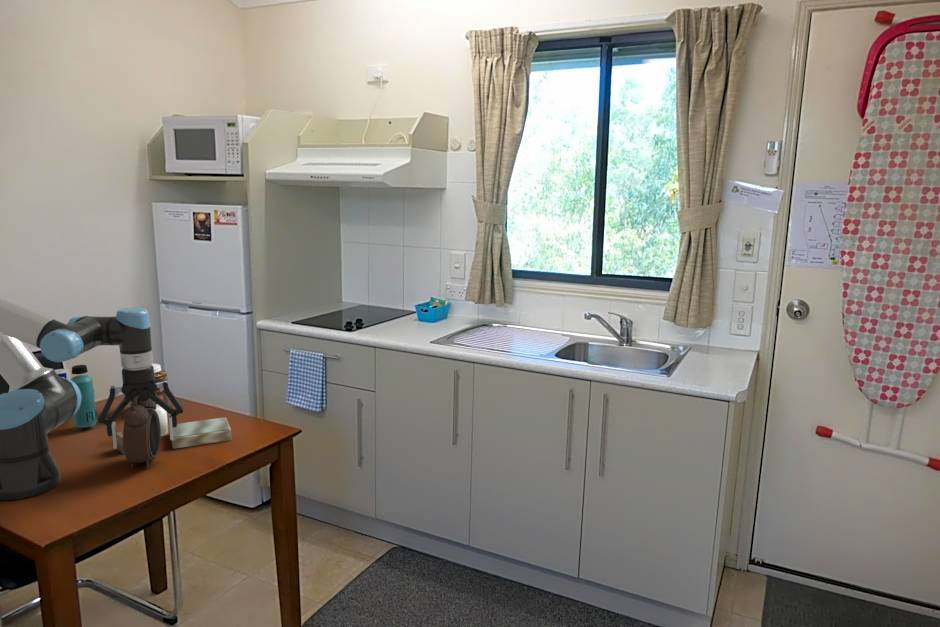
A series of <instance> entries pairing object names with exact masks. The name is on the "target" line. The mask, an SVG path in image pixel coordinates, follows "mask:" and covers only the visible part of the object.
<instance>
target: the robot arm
mask: <svg viewBox="0 0 940 627" xmlns="http://www.w3.org/2000/svg"><path fill="white" fill-rule="evenodd" d="M151 325H152V324H151V321H150V315H149V311H148V310H147V309H146V308H143V307H126V308H121V309H119V310H117V311H116V315H115V316H95V315H94V316H89V315H83V316H73V317H71V318H70V319H69V321H68V322H67V323H64V322H61V321H59V320H56V319H54V318H51V317H50V316H46V315H44V314H41V313H40V312H37V311H34V310H32V309H29V308H27V307H25V306H22V305H20V304H18V303H14V302H12V301H9V300H7V299H6V298H5V299H4V298H2V297H0V375H1V377H2V378H3V379H4V380H5V382H6V383H7V384H8V385H9V390H8V392H4V393H1V394H0V501H12V500H13V501H14V500H22V499H26V498H30V497H34V496H38V495H41V494H42V493H46V492H48V491H50V490H52V489H54V488H55V487H56V486H58V485H59V484H60V483H61V480H62V478H61V471H60V468H59V467H58V464H57V463H56V461H55V459H54V457H53V456H52V454H51V452H50V445H49V437H48V433H50V432H51V431H53V430H55V429H56V428H58V427H59V426H61V425H62V424H64V423H66V422H68V421H69V420H71V419H72V416H73V415H74V414H75V413H76V412H77V411H78V410H79V408H80V405H81V392H80V390H79V388H78V386H77V385H76V384H75V383H74V382H73V381H72V380H70V379H71V378H70V379H66V378H64V377H59V376H58V375H57V373H56V372H55V371H54V370H55V369H53V368H49V367H45V366H43V365H42V363H41V362H40V360H38V358H37V356H36V355H34V353H33V352H32V350H31V349H30V348H29V347H28V345H30V346H32V347H36V348H38V349H39V350H40V352H41V354H42V355H43V356H44V357H45V358H46V359H47V360H49V361H51V362H54V363H63V362H66V361H69V360H73V359H75V358H78V357H79V356H81V355H82V354H84V353H86V352H88V351H90V350H92V349H94V348H96V347H98V346H118V348H119V355H120V357H119V358H120V366H121V367H122V369H121V378H122V386H119V387H118V386H114V385H112V386H110V387H109V395H108V397H107V400H106V402H105V404H104V406H103V408H102V411H101V412H100V415H99V417H98V418H97V423H98V425H105V426H106V431H107V436H108V437H112V441H113V442H112V443H113V450H117V436H116V433H117V429H116V427H117V426H116V421H115V420H116V419H117V418H118V417H119V415H120V414H121V413H122V411H123V410H124V409H125V408H126V406H128V405H129V402H130V401H133V398H134V396H135V395H136V394H139V397H138V399H137V402H138V401H147V400H148V399H151V400H152V401H154V402H156V403H157V404H158V405H159V406H160V407H162V408H163V409H164V410H165V411H166V412H167V418H168V431H169V439H170V441H172V440H174V439H173V427H177V424H178V420H177V419H178V418H177V416H178V415H180V414H183V412H184V408H183V406H182V404H181V403H180V402H179V401H178V399H177V398H176V396H175V394H174V393H173V392H172V390H171V389H170V388H169V382H168V383H167V381H166V380H164V381H163V382H160V383H156V382H155V379H154V367H153V366H152V364H154V358H153V355H154V354H153V346H152V334H151V333H152V332H151ZM27 344H28V345H27ZM157 388H160V389H161V390H164V392H165V394H166V395H167V396H168V398H169V402H171V404H172V405H173V406H174V408H175V409H174V408H173V407H172V406H171V405H170V406H169V405H168V404H167V403H166V402H165V401H163V400H162V399H161V398H160V397H159V396H158V395H157V394H156V393H154V392H155V390H156V389H157ZM120 392H121V393H122V394H123V395H124V397H123V399H122V400H121V401H120V403H119V404H118V405H117V406H116V408H114V410H113V411H112V412H111V414H109V416H108V413H109V412H110V409H111V407H112V405H113V402H114V401H115V397H116V396H119V393H120ZM107 416H108V418H107Z"/></svg>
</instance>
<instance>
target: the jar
mask: <svg viewBox="0 0 940 627" xmlns="http://www.w3.org/2000/svg"><path fill="white" fill-rule="evenodd" d="M152 366H153V367H154V379H155V382H156V383H160V382H163V381H164V380H166V381H167V383H168V384H169V381H168V379H169V378H168V375H167V374H168V373H167V371H166V370H164V369H162V366H161V364H159V363H153V364H152ZM154 393H156V394H157V395H158V396H159V397H160V398H161V399H162V400H163V401H165V402H166V403H167V404H168V405H169V406H171V405H170V404H171V403H170V399H169V398H168V396H167V395H166V394H165V392H164V390H161V389H160V388H157V389H156V390H155V392H154ZM156 404H157V403H156ZM128 405H129V407H131V406H133V401H130V402H129V403H128Z"/></svg>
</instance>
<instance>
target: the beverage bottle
mask: <svg viewBox="0 0 940 627" xmlns="http://www.w3.org/2000/svg"><path fill="white" fill-rule="evenodd" d="M88 372H89V371H88V366H87V365H86V364H77V365H73V366H72V367H71V374H72V375H74V376H73V377H71V378H70V380H72V381H73V382H74V383H75V384H76V385H77V386H78V388H79V390H80V392H81V405H80V408H79V410H78V411H77V412H76V413H75V414H74V415H73V416H72V417H71V419H72V421H73V422H72V423H73V425H74V427H75V428H88V427H93V426H94V425H96V424H97V423H98V413H97V408H96V398H95V389H94V383H93V377H91V376H89V375H88V374H87V373H88Z"/></svg>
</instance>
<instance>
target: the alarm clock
mask: <svg viewBox="0 0 940 627" xmlns="http://www.w3.org/2000/svg"><path fill="white" fill-rule="evenodd" d="M138 397H139V394H136V395H135V396H134V398H133V406H131V407H130V406H129V407H128V408H127V409H126V410H125V411H124V415H123V421H124V423H123V429H122V431H123V446H124V452H125V454H124V457H125V458H126V460H127V462H128V463H130V464H131V465H130V468H131V469H133V468H134V464H135V463H145V462H146V468H145V469H147V470H148V469H150V462H151V461H152V462H153V461H154V460H155V459H156V457H157V456H158V453H159V450H160V445H161V438H162V436H161V427H160V421H159V417H158V414H157V412H156V410H155V409H156V402H154V401H152V400H151V399H148V400H147V401H138V402H137V399H138Z"/></svg>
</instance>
